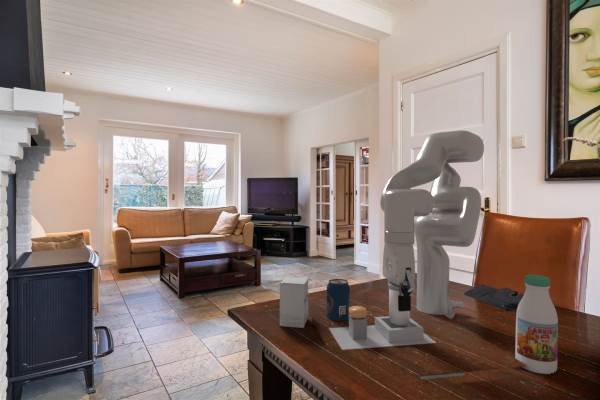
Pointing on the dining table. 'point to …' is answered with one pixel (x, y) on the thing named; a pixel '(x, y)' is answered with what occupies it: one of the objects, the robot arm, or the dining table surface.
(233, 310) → the dining table surface
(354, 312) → the brown egg
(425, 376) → the mat
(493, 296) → the dark slate chunk
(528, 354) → the milk bottle
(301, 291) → the supplement box
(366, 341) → the housing
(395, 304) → the cartridge
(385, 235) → the robot arm
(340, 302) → the soda can
